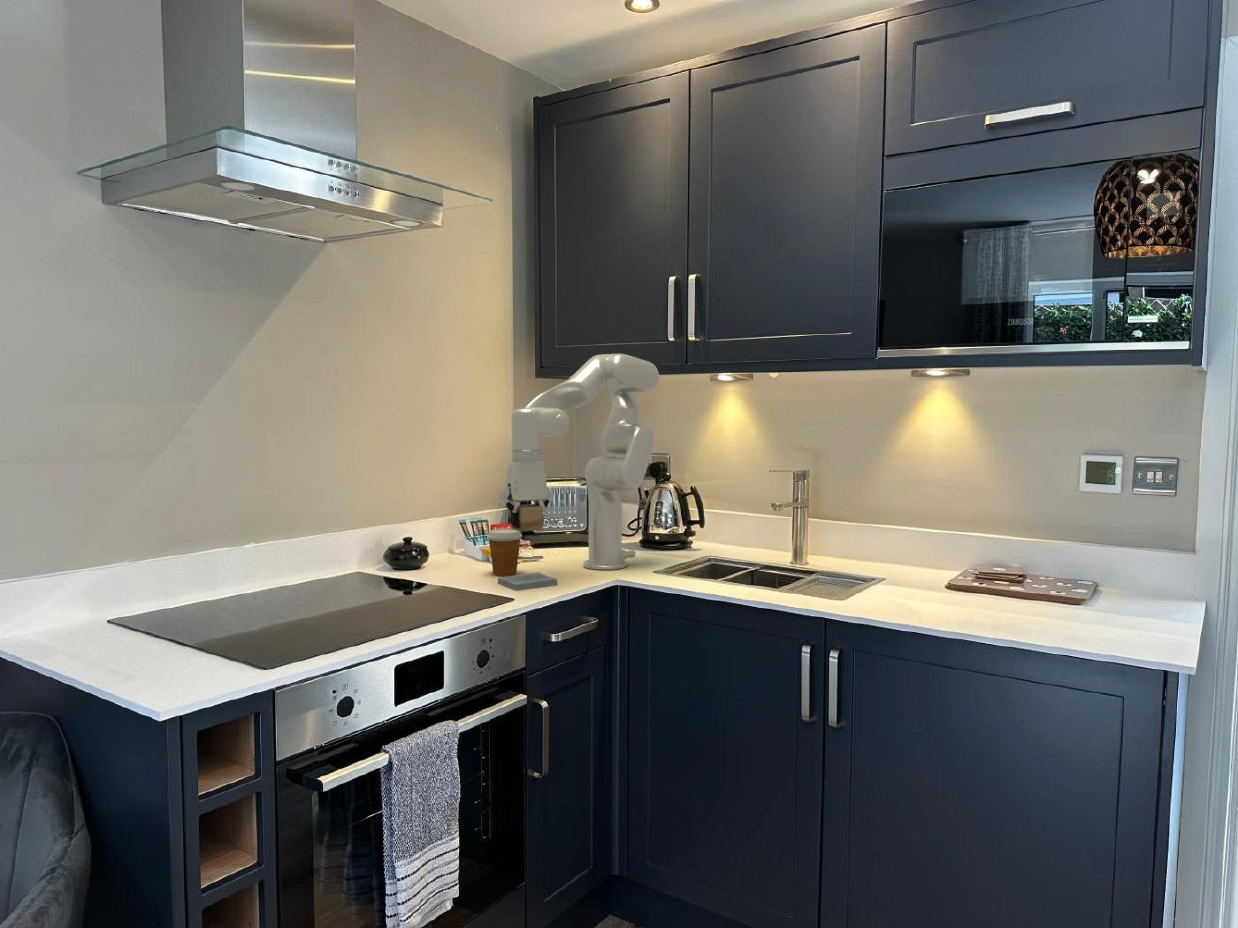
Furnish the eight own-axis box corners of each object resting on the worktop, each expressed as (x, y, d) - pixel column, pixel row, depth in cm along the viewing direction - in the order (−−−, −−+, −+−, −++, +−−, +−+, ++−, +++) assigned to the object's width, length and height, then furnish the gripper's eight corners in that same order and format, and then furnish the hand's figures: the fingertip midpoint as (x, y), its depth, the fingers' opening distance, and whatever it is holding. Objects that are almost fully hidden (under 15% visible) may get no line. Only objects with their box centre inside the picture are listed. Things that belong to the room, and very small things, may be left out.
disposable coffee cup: (480, 573, 230) (480, 530, 229) (509, 569, 236) (509, 527, 235) (499, 579, 223) (499, 534, 222) (529, 574, 229) (528, 531, 228)
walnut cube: (543, 529, 215) (542, 506, 214) (522, 531, 211) (522, 508, 211) (531, 526, 220) (531, 504, 219) (511, 528, 216) (511, 505, 216)
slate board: (538, 578, 224) (538, 572, 224) (557, 584, 216) (557, 579, 216) (497, 583, 217) (497, 577, 217) (515, 590, 209) (515, 584, 209)
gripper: (548, 455, 222) (549, 522, 223) (489, 457, 212) (490, 527, 214) (563, 456, 216) (563, 525, 217) (502, 458, 206) (503, 531, 208)
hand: (527, 525), depth 215 cm, fingers closed on walnut cube, 6 cm apart
